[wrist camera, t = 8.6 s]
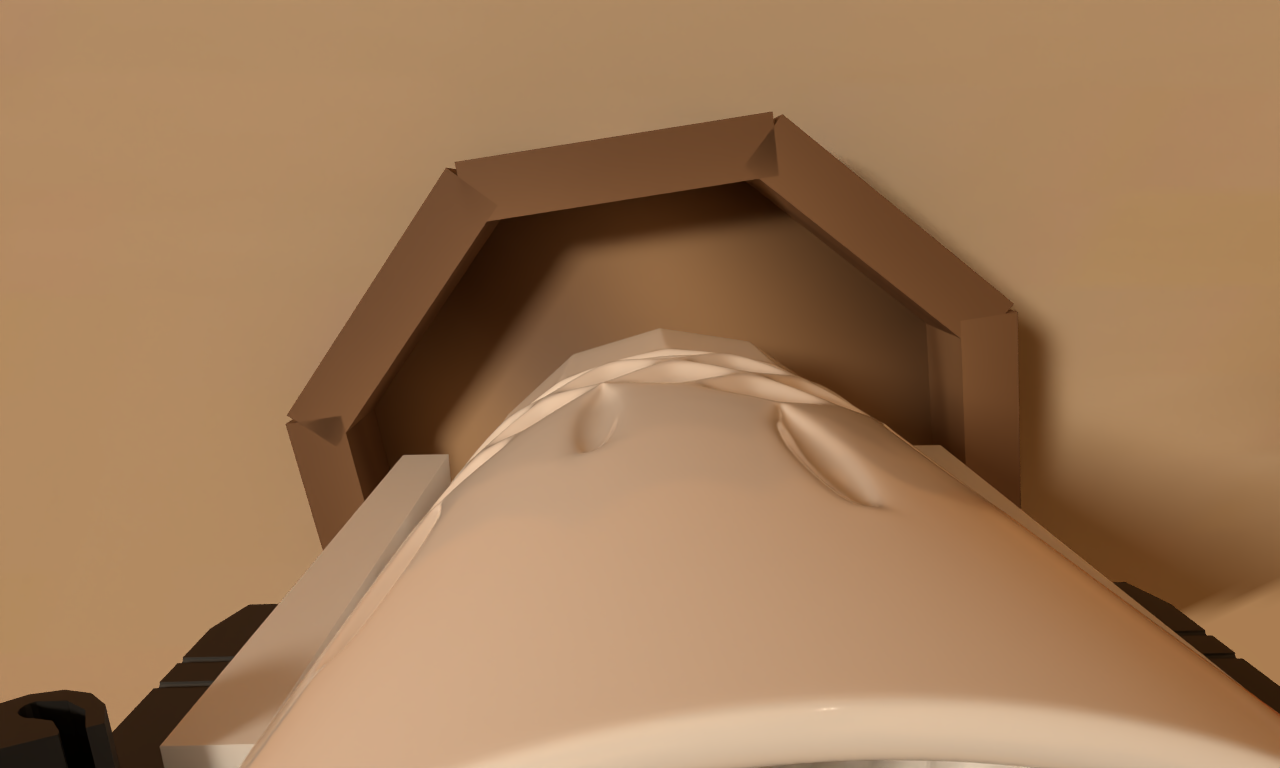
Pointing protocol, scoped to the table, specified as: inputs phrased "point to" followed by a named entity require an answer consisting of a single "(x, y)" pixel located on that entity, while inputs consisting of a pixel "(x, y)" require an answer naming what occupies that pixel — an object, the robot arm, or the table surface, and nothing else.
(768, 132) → the coaster ring
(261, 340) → the table surface
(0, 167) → the table surface
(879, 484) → the white cup
